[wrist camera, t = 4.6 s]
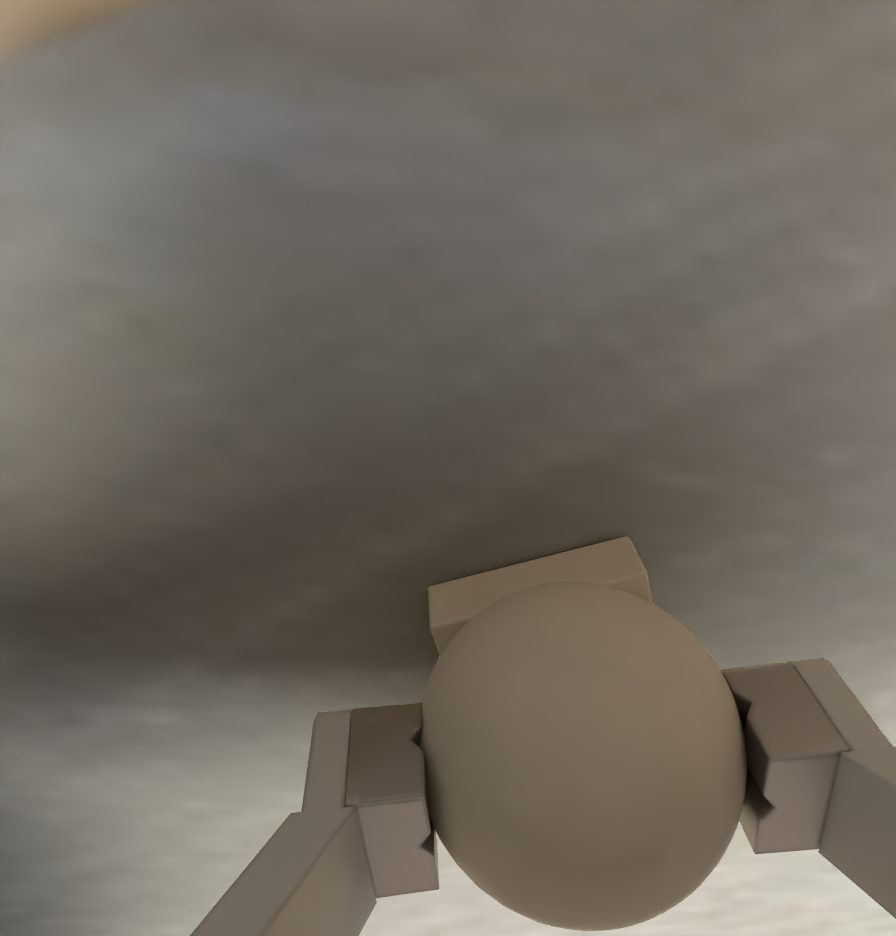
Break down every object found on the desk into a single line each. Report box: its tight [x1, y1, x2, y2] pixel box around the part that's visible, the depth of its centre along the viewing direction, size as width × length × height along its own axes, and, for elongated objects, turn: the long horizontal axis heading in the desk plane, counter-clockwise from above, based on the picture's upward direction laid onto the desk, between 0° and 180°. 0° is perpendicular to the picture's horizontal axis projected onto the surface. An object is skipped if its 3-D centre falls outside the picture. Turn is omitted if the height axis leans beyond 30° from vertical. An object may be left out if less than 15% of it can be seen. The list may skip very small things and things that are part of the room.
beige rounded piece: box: [420, 536, 747, 931], centre depth 10 cm, size 4×4×4 cm
